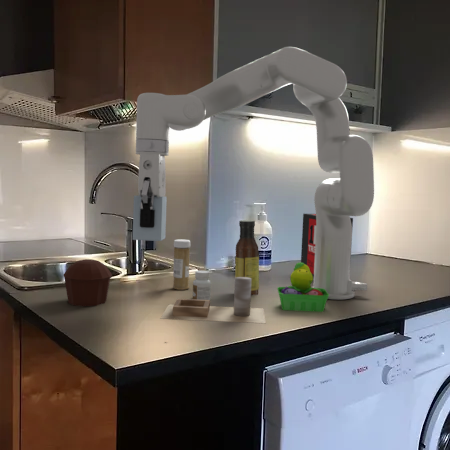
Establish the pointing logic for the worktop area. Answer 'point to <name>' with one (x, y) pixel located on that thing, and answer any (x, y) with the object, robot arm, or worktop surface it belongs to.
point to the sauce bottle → (247, 255)
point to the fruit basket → (302, 292)
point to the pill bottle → (202, 286)
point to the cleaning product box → (310, 241)
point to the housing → (159, 222)
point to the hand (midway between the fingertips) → (150, 225)
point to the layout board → (205, 312)
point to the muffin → (87, 283)
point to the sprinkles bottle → (181, 264)
